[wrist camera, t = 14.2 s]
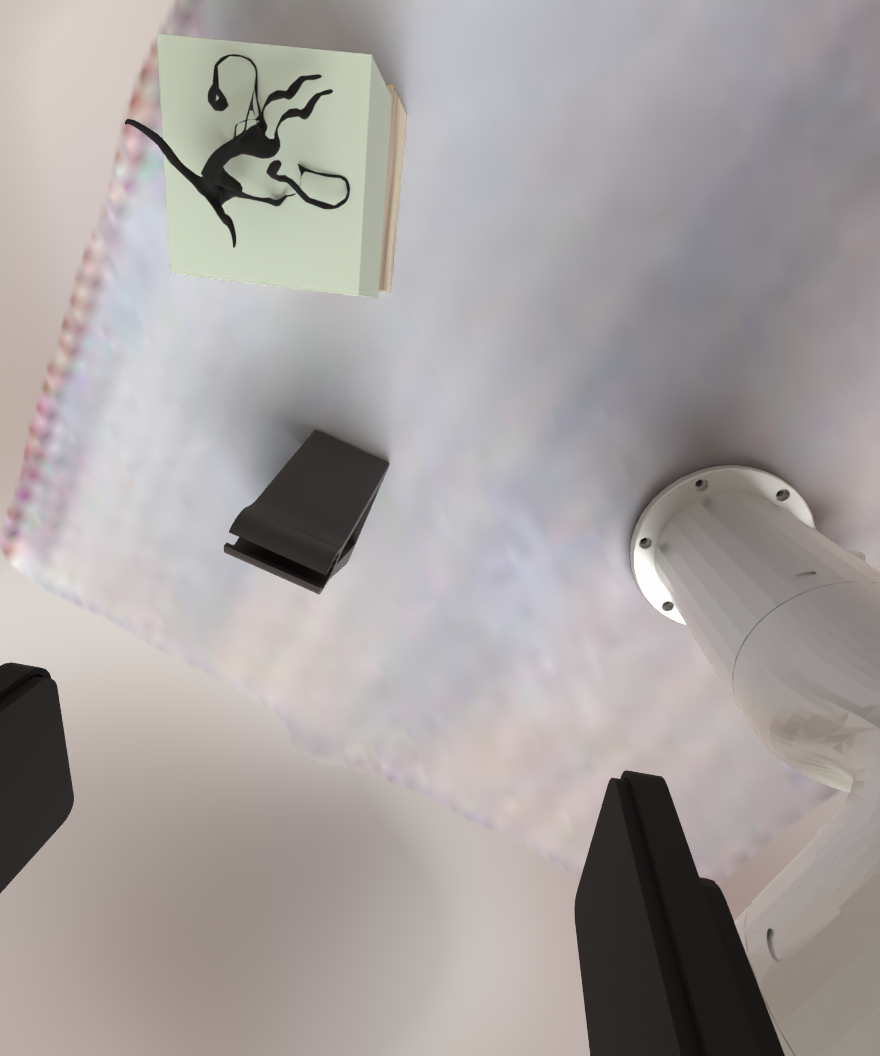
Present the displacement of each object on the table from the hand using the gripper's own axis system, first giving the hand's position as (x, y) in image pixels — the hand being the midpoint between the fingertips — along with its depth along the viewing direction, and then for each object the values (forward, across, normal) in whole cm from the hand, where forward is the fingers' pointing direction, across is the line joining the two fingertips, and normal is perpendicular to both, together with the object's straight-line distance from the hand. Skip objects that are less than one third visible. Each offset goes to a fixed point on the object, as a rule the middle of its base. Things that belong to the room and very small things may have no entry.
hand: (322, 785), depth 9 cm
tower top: (+28, +11, -13) cm, 33 cm away
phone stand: (+33, +9, +6) cm, 35 cm away
